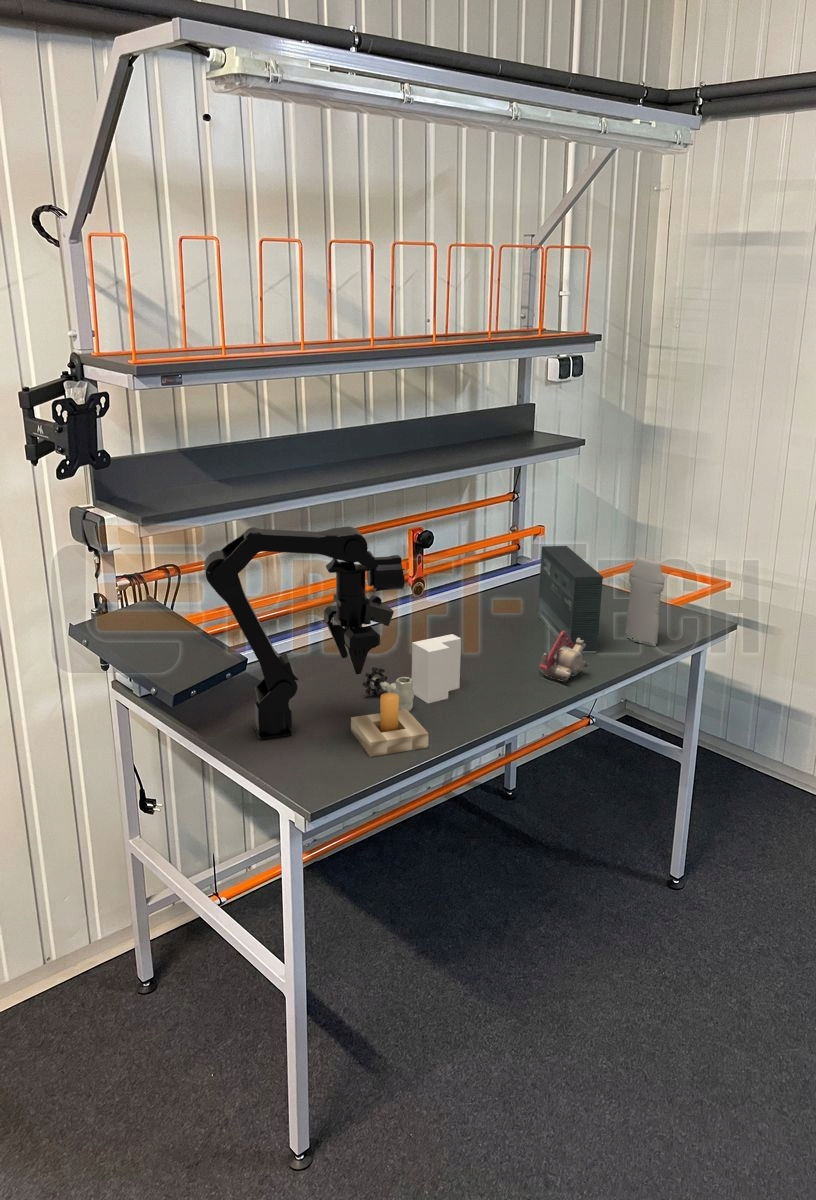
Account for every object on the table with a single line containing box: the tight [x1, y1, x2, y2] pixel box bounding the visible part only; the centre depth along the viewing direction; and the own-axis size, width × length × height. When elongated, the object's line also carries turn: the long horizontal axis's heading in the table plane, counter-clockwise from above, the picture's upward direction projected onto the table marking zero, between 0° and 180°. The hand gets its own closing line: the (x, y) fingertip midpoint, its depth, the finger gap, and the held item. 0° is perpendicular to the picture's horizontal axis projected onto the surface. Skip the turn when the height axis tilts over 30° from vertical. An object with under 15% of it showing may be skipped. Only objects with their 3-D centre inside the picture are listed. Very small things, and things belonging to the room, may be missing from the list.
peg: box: [379, 692, 399, 733], centre depth 190 cm, size 4×4×9 cm
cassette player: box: [537, 545, 604, 652], centre depth 248 cm, size 29×7×20 cm, turn 8°
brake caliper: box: [538, 631, 590, 682], centre depth 222 cm, size 11×11×12 cm
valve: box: [361, 666, 415, 712], centre depth 208 cm, size 7×7×12 cm
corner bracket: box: [411, 633, 462, 704], centre depth 214 cm, size 11×11×12 cm
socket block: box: [350, 709, 429, 758], centre depth 191 cm, size 12×12×3 cm
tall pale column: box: [624, 557, 665, 644], centre depth 243 cm, size 11×4×22 cm, turn 39°
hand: (351, 665), depth 194 cm, fingers open, 9 cm apart
